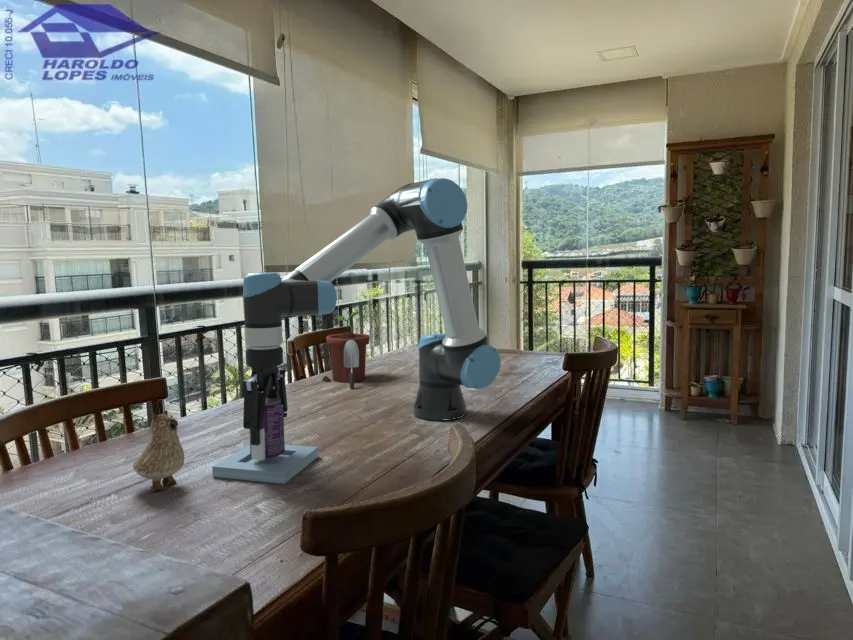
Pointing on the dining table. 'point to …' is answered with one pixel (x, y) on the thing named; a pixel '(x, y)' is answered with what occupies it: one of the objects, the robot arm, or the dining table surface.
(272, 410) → the beverage can
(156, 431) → the figurine
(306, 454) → the baseplate
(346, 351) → the potted plant
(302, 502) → the dining table surface
